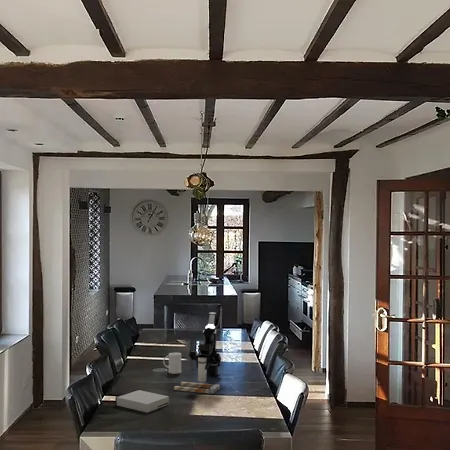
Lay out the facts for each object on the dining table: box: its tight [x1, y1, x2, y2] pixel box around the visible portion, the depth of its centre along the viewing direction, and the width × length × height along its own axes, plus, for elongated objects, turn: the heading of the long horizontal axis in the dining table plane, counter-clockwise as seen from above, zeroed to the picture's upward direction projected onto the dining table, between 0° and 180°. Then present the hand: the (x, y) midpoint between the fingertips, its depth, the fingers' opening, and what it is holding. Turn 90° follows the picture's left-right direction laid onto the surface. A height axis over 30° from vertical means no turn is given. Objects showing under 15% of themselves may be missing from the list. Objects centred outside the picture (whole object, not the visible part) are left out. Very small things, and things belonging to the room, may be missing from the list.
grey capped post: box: [197, 357, 207, 383], centre depth 343 cm, size 5×5×13 cm
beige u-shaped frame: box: [173, 381, 221, 394], centre depth 344 cm, size 24×11×2 cm, turn 72°
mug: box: [162, 352, 182, 375], centre depth 385 cm, size 12×8×12 cm
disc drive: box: [115, 389, 170, 414], centre depth 315 cm, size 18×22×5 cm
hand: (201, 369), depth 342 cm, fingers closed on grey capped post, 5 cm apart
